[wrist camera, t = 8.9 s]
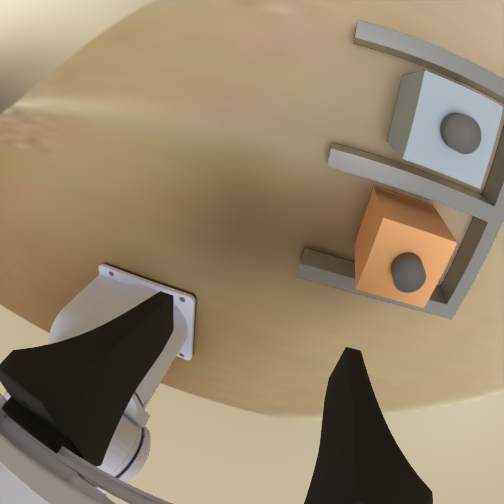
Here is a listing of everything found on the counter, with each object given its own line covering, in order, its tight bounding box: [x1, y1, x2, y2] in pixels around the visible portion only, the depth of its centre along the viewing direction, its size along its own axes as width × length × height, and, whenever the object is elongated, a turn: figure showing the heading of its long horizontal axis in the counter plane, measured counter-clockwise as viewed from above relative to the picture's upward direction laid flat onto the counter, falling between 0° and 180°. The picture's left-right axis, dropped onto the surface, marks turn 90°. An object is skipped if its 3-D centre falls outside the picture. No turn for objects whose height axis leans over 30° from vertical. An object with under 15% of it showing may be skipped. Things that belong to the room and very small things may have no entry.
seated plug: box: [387, 70, 503, 189], centre depth 12 cm, size 4×4×6 cm
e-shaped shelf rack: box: [297, 20, 504, 319], centre depth 15 cm, size 11×15×2 cm
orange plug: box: [354, 186, 457, 308], centre depth 16 cm, size 4×4×6 cm
